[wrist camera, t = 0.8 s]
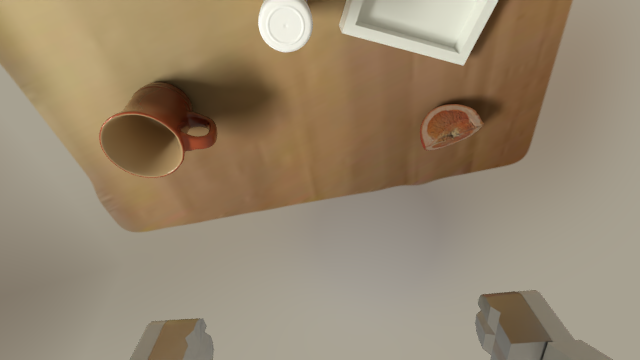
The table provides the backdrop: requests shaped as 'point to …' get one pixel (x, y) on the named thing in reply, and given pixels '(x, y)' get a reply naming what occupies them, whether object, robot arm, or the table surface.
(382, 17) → the tray
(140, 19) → the table surface
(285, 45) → the sprinkles bottle
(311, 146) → the table surface
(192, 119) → the mug
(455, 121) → the fruit slice
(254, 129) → the table surface
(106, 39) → the table surface
